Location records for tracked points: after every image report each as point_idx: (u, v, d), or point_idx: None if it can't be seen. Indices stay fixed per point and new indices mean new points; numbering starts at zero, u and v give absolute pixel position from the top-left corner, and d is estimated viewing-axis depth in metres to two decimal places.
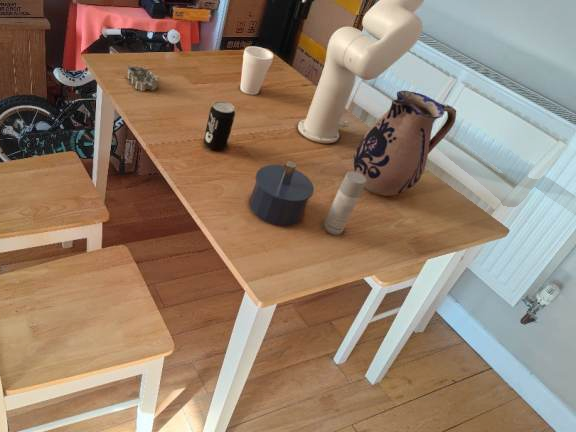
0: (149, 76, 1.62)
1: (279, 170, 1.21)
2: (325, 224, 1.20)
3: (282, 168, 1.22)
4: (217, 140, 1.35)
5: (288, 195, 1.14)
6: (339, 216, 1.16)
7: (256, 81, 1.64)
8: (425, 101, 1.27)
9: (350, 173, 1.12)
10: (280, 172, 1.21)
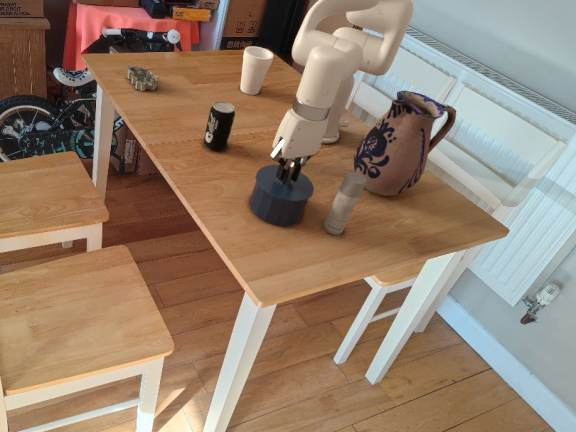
0: (149, 76, 1.62)
1: None
2: (325, 224, 1.20)
3: None
4: (217, 140, 1.35)
5: (288, 195, 1.14)
6: (339, 216, 1.16)
7: (256, 81, 1.64)
8: (425, 101, 1.27)
9: (350, 173, 1.12)
10: None
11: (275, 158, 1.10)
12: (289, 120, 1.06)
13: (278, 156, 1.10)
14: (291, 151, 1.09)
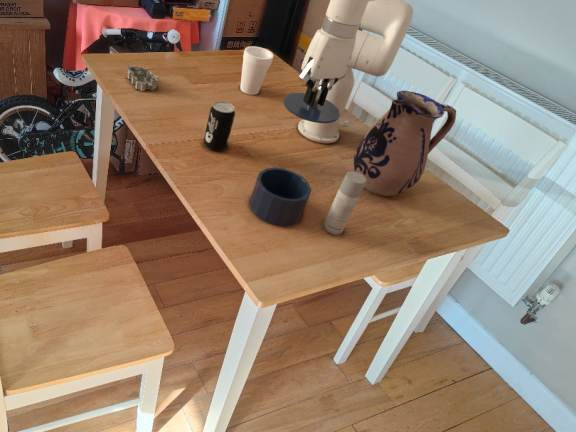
0: (149, 76, 1.62)
1: None
2: (325, 224, 1.20)
3: None
4: (217, 140, 1.35)
5: (316, 117, 1.19)
6: (339, 216, 1.16)
7: (256, 81, 1.64)
8: (425, 101, 1.27)
9: (350, 173, 1.12)
10: None
11: (304, 78, 1.15)
12: (319, 38, 1.10)
13: (307, 77, 1.15)
14: (320, 71, 1.13)
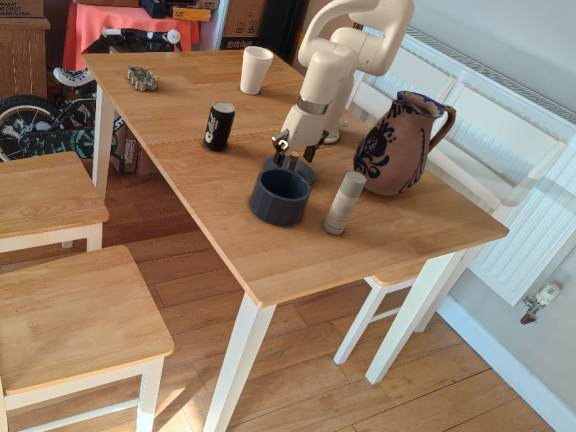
0: (149, 76, 1.62)
1: (284, 160, 1.39)
2: (325, 224, 1.20)
3: (287, 158, 1.39)
4: (217, 140, 1.35)
5: None
6: (339, 216, 1.16)
7: (256, 81, 1.64)
8: (425, 101, 1.27)
9: (350, 173, 1.12)
10: (285, 161, 1.38)
11: (276, 141, 1.25)
12: (294, 114, 1.23)
13: (278, 141, 1.26)
14: (295, 141, 1.26)
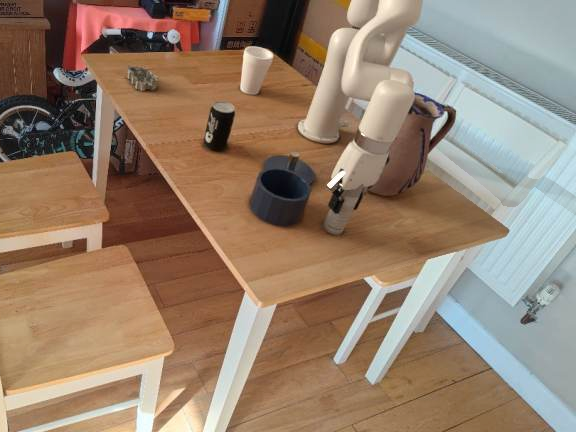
0: (149, 76, 1.62)
1: (284, 160, 1.39)
2: (325, 224, 1.20)
3: (287, 158, 1.39)
4: (217, 140, 1.35)
5: None
6: (339, 216, 1.16)
7: (256, 81, 1.64)
8: (425, 101, 1.27)
9: None
10: (285, 161, 1.38)
11: (332, 188, 1.09)
12: (351, 153, 1.05)
13: (335, 187, 1.09)
14: (351, 183, 1.08)
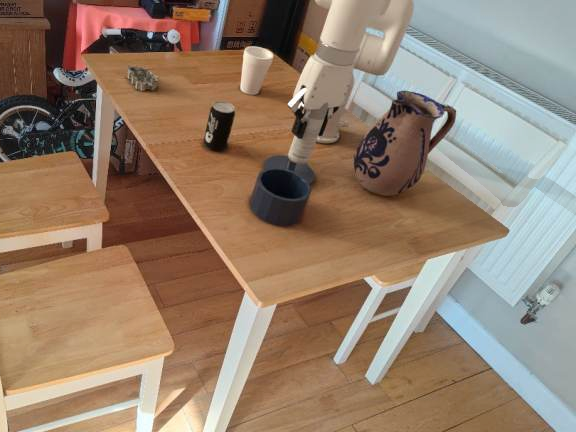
0: (149, 76, 1.62)
1: (284, 160, 1.39)
2: (289, 153, 1.12)
3: (287, 158, 1.39)
4: (217, 140, 1.35)
5: None
6: (303, 142, 1.08)
7: (256, 81, 1.64)
8: (425, 101, 1.27)
9: None
10: (285, 161, 1.38)
11: (293, 107, 1.02)
12: (312, 65, 0.98)
13: (296, 106, 1.02)
14: (314, 101, 1.01)
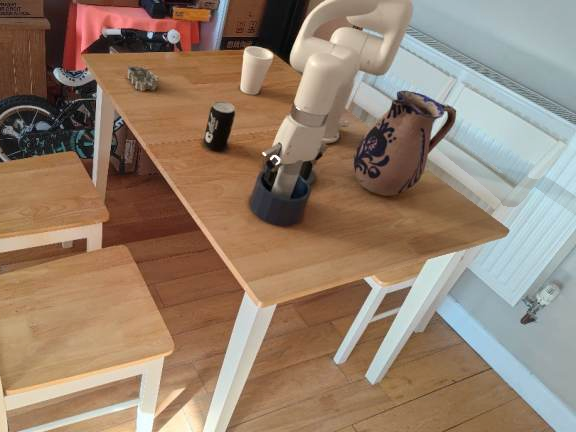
0: (149, 76, 1.62)
1: None
2: None
3: None
4: (217, 140, 1.35)
5: None
6: (280, 194, 1.18)
7: (256, 81, 1.64)
8: (425, 101, 1.27)
9: None
10: None
11: (267, 156, 1.09)
12: (287, 126, 1.07)
13: (270, 156, 1.09)
14: (289, 157, 1.10)
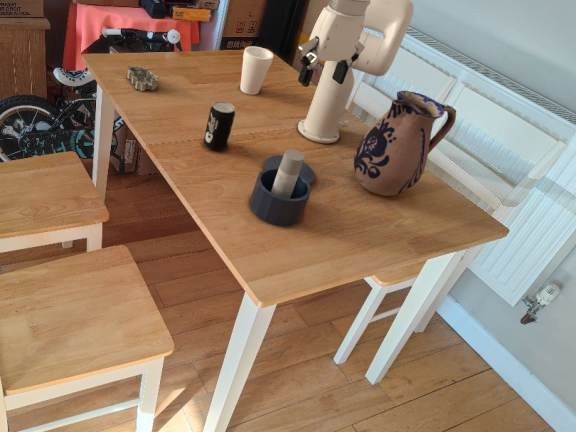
0: (149, 76, 1.62)
1: None
2: None
3: None
4: (217, 140, 1.35)
5: None
6: (280, 194, 1.18)
7: (256, 81, 1.64)
8: (425, 101, 1.27)
9: (289, 151, 1.14)
10: None
11: (304, 50, 1.05)
12: (325, 16, 1.03)
13: (306, 51, 1.05)
14: (326, 52, 1.06)
